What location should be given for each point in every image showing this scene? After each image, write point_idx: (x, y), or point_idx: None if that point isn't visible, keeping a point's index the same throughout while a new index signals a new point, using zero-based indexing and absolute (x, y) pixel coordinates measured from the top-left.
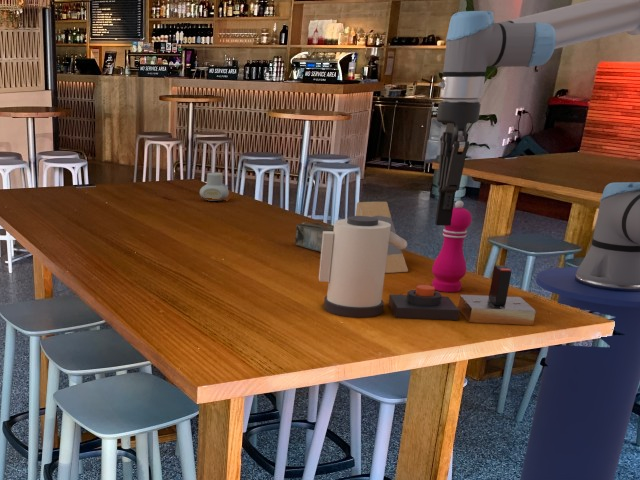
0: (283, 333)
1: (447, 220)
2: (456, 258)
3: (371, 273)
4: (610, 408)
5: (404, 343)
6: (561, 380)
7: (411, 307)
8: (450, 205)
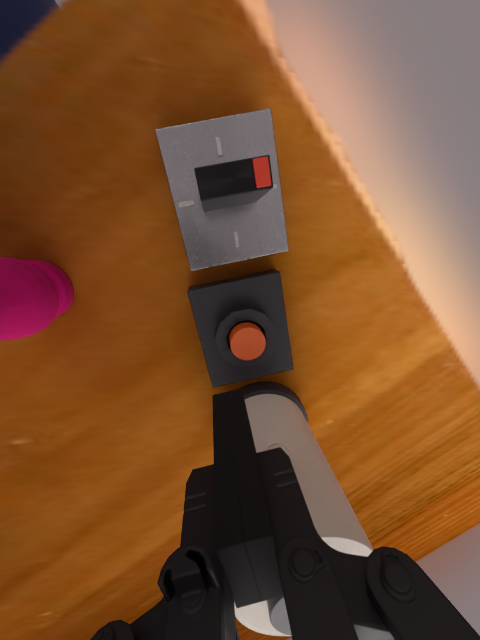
0: (387, 467)
1: (247, 413)
2: (10, 293)
3: (321, 450)
4: (55, 4)
5: (405, 340)
6: None
7: (287, 349)
8: (291, 467)
